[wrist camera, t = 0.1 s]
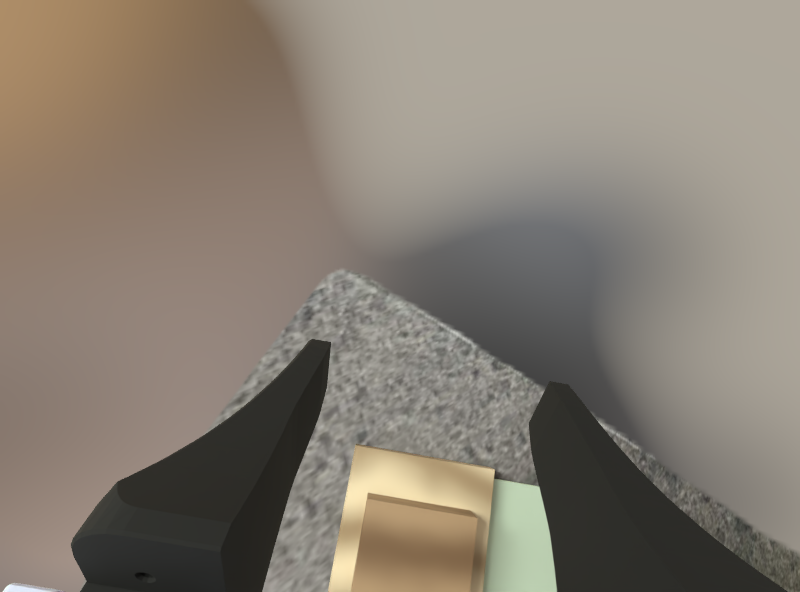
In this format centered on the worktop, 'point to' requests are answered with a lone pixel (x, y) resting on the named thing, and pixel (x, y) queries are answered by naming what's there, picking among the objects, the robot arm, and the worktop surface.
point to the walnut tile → (414, 547)
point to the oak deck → (416, 483)
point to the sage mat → (518, 541)
